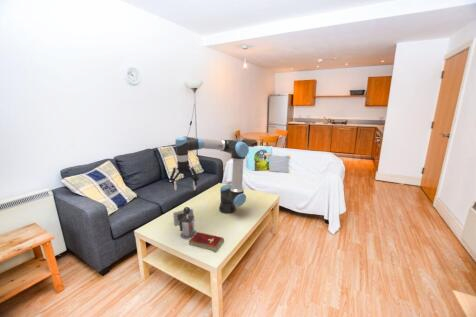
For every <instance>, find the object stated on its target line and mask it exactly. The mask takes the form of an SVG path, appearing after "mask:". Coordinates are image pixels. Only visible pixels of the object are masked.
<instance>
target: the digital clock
mask: <svg viewBox="0 0 476 317" xmlns="http://www.w3.org/2000/svg"><path fill="white" fill-rule="evenodd" d="M172 215H173V216H172V218H173V224H174V226H176V227H177V226H180V223H179V221H180V220H182V218H183V217H184V216H186V214H185V213H184V212H183V209H181V210H177V211H174V212H173V213H172ZM188 216H194V218H193V221H194V222H195V214H194V209H193V208H190V213H189V214H188Z"/></svg>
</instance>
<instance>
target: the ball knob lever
mask: <svg viewBox="0 0 476 317" xmlns="http://www.w3.org/2000/svg"><path fill="white" fill-rule="evenodd" d="M190 209H191V208H190V207H188V206H185V207H183V209H182V210H183V212H184V213H185V214H186V217H187V219H188V214H189V213H190Z"/></svg>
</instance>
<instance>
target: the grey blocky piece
mask: <svg viewBox="0 0 476 317" xmlns="http://www.w3.org/2000/svg"><path fill="white" fill-rule="evenodd" d="M193 218H194V219H195V215H194V216H188V219H187V217H186V216H184V217H183V218H182V220H180V221H179V223H180V225H179V231H180V232H183V236H184V237H192V236H193V235H194V230H195V220H194V221H193Z"/></svg>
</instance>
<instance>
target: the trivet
mask: <svg viewBox="0 0 476 317" xmlns="http://www.w3.org/2000/svg"><path fill="white" fill-rule="evenodd" d="M197 232H198V231H196V229H194V235H195V234H196V233H197ZM194 235H193V236H194ZM193 236H192V237H193ZM192 237H184V236H183V231H181V233H180V238H182V239H184V240H190V239H191V238H192Z"/></svg>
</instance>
